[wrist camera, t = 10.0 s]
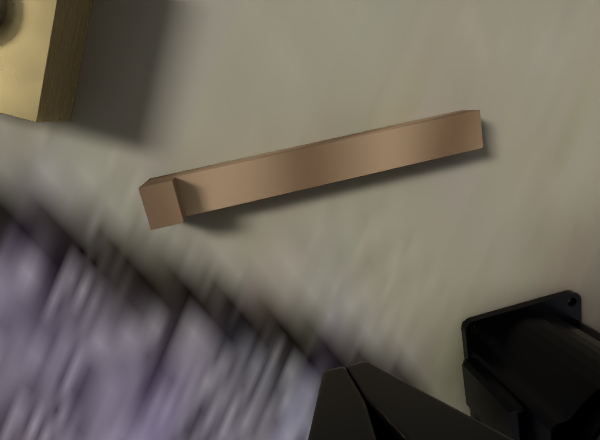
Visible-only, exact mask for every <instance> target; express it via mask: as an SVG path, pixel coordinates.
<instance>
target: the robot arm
mask: <svg viewBox="0 0 600 440" xmlns="http://www.w3.org/2000/svg"><path fill="white" fill-rule="evenodd" d="M569 299H570V301H569ZM568 301H569V302H568ZM474 325H475V327H474V329H473V330H471V331H470V329H471V327H472V326H474ZM461 331H462V340H463V349H464V358H465V360H464V361H463V364H462V369H463V377H464V386H465V395H466V403H467V405H468V406H469V407H470V412H471V417H470V416H468V415H466V414H464V413H462V412H461V411H459V410H457V409H455V408H453V407H451V406H449V405H448V404H446V403H444V402H442V401H440V400H438V399H436V398H434V397H433V396H431V395H429V394H427V393H425V392H423V391H421V390H420V389H418V388H416V387H414V386H412V385H410V384H408V383H407V382H405V381H403V380H401V379H399V378H397V377H395V376H394V375H392V374H390V373H388V372H386V371H384V370H382V369H380V368H379V367H377V366H375V365H373V364H371V363H369V362H367V361H364V362H360V363H356V364H352V365H348V366H347V367H346V369H345V368H344V367H339V368H335V369H331V370H327V371H325V372H324V373H323V376H322V381H321V385H320V389H319V394H318V398H317V403H316V407H315V411H314V416H313V420H312V425H311V429H310V434H309V438H308V440H600V333H599V332H597V331H596V330H594V329H592V328H590V327H589V326H587V325H585V324H583V323H582V321H581V298H580V296H579V295H578V294H577V293H575V292H573V291H570V290H566V291H562V292H559V293H555V294H552V295H548V296H545V297H541V298H537V299H534V300H530V301H527V302H523V303H520V304H516V305H512V306H509V307H505V308H502V309H498V310H495V311H491V312H488V313H484V314H480V315H477V316H473V317H470V318H468V319H466V320H465V321H464V322H463V323H462V326H461Z"/></svg>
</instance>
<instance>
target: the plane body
mask: <svg viewBox="0 0 600 440" xmlns="http://www.w3.org/2000/svg"><path fill="white" fill-rule="evenodd" d="M480 148H483V140H482V128H481V117H480V110H463V111H457V112H452V113H448V114H443V115H438V116H434V117H429V118H425V119H420V120H416V121H411V122H407V123H402V124H397V125H393V126H388V127H384V128H379V129H375V130H370V131H365V132H361V133H356V134H352V135H347V136H343V137H338V138H333V139H329V140H324V141H320V142H315V143H311V144H306V145H301V146H297V147H292V148H288V149H283V150H279V151H274V152H269V153H265V154H260V155H256V156H251V157H247V158H242V159H237V160H233V161H228V162H224V163H219V164H215V165H210V166H206V167H201V168H196V169H192V170H187V171H183V172H178V173H174V174H169V175H164V176H160V177H155V178H151V179H149V180H148V181H146V182H145V183H144V184H143V185H142V186H140V187H139V191H140V195H141V198H142V201H143V205H144V208H145V211H146V214H147V218H148V221H149V224H150V228H151V230H153V229H158V228H162V227H166V226H171V225H175V224H179V223H183V222H184V220H185V218H186V216H190V215H195V214H199V213H203V212H208V211H212V210H216V209H221V208H225V207H229V206H234V205H238V204H242V203H247V202H251V201H255V200H259V199H264V198H268V197H272V196H277V195H281V194H285V193H290V192H294V191H298V190H303V189H307V188H311V187H316V186H320V185H324V184H329V183H333V182H337V181H342V180H346V179H350V178H355V177H359V176H363V175H368V174H372V173H376V172H380V171H385V170H389V169H393V168H398V167H402V166H406V165H411V164H415V163H419V162H424V161H428V160H432V159H437V158H441V157H445V156H450V155H454V154H458V153H463V152H467V151H471V150H476V149H480Z"/></svg>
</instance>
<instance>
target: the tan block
mask: <svg viewBox="0 0 600 440" xmlns="http://www.w3.org/2000/svg"><path fill="white" fill-rule="evenodd" d="M92 3H93V0H0V113H4V114H8V115H12V116H15V117H19V118H23V119H27V120H30V121H34V122H49V121H70V120H71V115H72V109H73V104H74V99H75V94H76V88H77V83H78V78H79V72H80V67H81V62H82V56H83V51H84V46H85V40H86V35H87V30H88V24H89V19H90V14H91V8H92Z"/></svg>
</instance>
